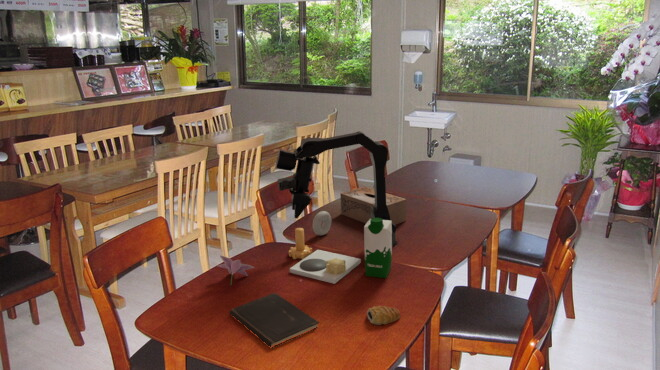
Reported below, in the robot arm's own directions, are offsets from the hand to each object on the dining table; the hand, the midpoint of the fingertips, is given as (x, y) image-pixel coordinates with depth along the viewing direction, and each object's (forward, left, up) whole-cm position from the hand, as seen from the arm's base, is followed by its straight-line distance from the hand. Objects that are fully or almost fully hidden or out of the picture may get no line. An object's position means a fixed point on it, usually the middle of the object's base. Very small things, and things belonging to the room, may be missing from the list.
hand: (294, 213), depth 197 cm
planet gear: (-2, +1, -15) cm, 16 cm away
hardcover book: (-21, +43, -16) cm, 51 cm away
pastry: (-48, +27, -16) cm, 57 cm away
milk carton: (-34, +1, -16) cm, 38 cm away
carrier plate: (-16, +6, -15) cm, 23 cm away
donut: (+1, -19, -16) cm, 25 cm away
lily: (+6, +28, -16) cm, 32 cm away
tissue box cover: (-8, -46, -16) cm, 50 cm away
